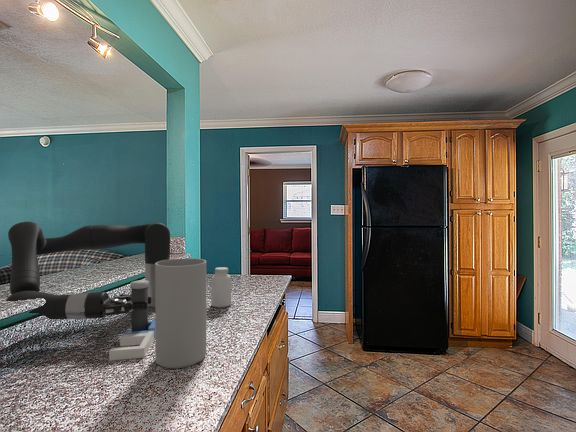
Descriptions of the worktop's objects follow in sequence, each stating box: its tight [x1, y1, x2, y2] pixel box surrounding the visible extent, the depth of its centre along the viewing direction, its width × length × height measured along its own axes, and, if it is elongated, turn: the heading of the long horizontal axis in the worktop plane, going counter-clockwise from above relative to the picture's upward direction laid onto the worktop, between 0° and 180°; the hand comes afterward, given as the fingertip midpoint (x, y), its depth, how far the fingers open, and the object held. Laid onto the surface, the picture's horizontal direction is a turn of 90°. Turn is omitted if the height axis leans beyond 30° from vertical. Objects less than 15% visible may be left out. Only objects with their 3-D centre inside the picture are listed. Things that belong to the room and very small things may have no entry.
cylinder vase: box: [154, 257, 207, 369], centre depth 81 cm, size 12×12×25 cm
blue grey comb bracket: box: [108, 319, 155, 362], centre depth 90 cm, size 8×21×3 cm, turn 12°
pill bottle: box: [210, 266, 232, 308], centre depth 126 cm, size 8×8×15 cm
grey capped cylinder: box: [130, 279, 149, 332], centre depth 95 cm, size 5×5×15 cm
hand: (149, 302), depth 96 cm, fingers closed on grey capped cylinder, 4 cm apart
